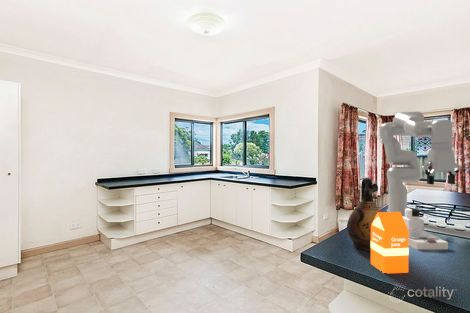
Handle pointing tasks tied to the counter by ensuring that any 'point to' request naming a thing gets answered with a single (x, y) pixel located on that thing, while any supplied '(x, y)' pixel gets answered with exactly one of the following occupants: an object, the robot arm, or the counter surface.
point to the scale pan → (421, 234)
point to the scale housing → (428, 243)
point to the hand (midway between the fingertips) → (440, 184)
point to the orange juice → (389, 243)
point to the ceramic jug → (363, 217)
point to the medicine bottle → (413, 219)
